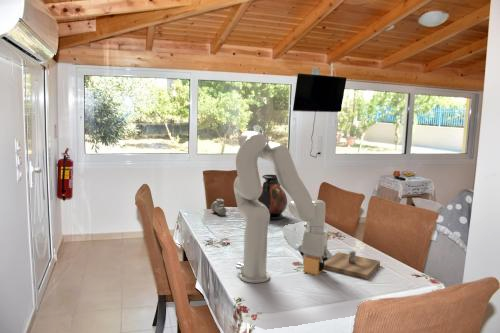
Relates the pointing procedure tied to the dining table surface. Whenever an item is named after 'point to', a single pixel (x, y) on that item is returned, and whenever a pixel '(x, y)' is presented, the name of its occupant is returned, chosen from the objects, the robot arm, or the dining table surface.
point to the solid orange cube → (311, 264)
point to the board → (352, 265)
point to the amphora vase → (273, 197)
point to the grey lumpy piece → (218, 207)
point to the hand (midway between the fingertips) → (313, 268)
